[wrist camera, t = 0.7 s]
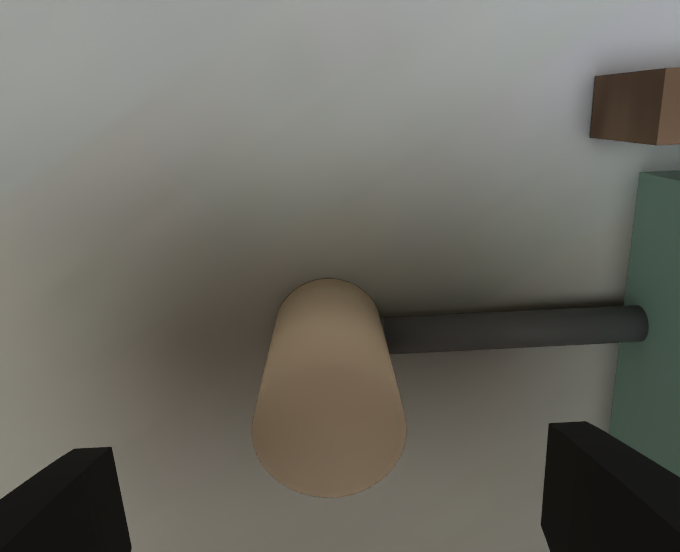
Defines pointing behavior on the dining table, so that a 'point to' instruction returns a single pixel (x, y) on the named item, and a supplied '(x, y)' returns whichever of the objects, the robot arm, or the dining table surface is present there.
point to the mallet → (459, 335)
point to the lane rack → (638, 107)
